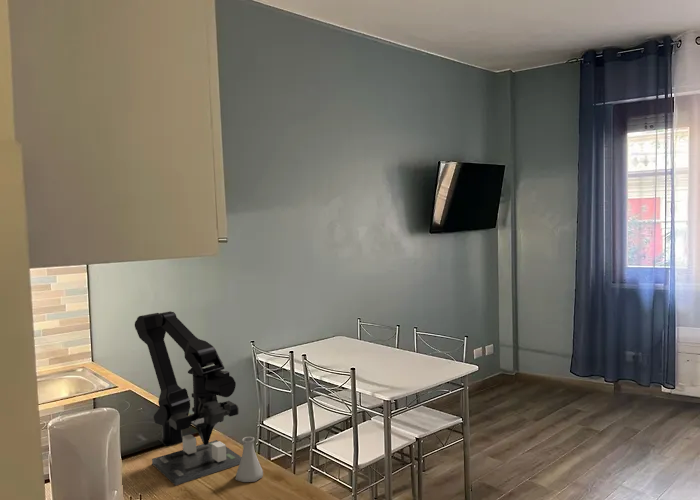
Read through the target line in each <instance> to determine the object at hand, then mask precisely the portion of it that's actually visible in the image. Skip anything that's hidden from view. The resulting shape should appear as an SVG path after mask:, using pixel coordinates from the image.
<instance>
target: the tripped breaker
mask: <svg viewBox="0 0 700 500" xmlns="http://www.w3.org/2000/svg"><path fill="white" fill-rule="evenodd" d="M182 438H183V442H182V450H183V451H185V452H186V453H187V454H191V453H195V452H197V451H196V446H197V437H195V436H194V435H193V434H190V433H189V434H186V435H182Z"/></svg>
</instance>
